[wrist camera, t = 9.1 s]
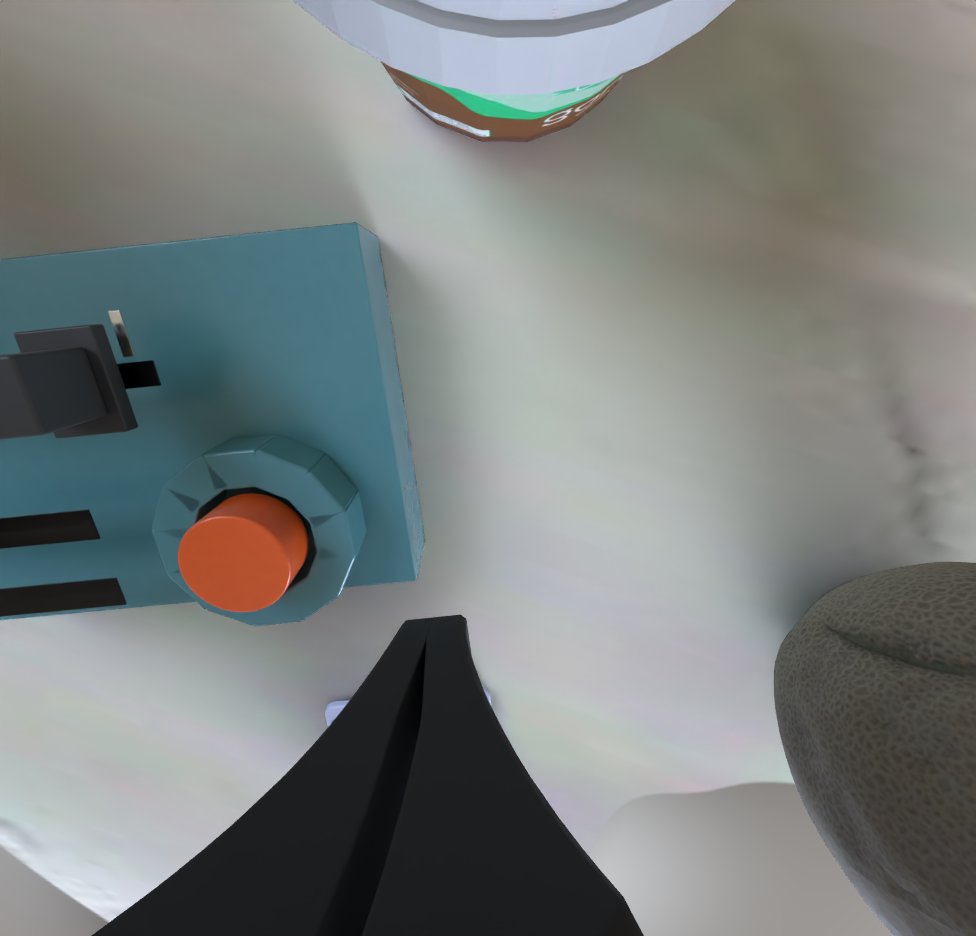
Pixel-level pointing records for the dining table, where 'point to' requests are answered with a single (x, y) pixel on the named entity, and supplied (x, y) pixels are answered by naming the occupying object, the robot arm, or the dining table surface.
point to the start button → (244, 552)
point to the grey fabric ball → (890, 739)
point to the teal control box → (223, 413)
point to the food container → (511, 54)
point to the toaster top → (69, 525)
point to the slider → (63, 385)
